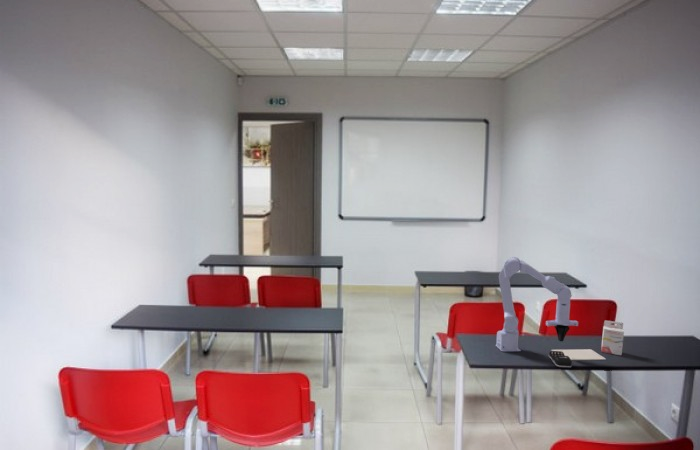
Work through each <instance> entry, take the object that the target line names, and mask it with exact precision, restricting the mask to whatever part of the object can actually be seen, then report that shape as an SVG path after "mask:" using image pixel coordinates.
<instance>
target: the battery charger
mask: <svg viewBox="0 0 700 450" xmlns="http://www.w3.org/2000/svg"><path fill="white" fill-rule="evenodd" d="M548 358H549V360H551V362H552V363H553V364H554V365H555V367H557V368H560V369H563V368H564V369H572V366H573V365H572V364H573V362H572V361H573V360H571V359H570V358H569V357H568V356H565V355H564V353H563V352H562V351H551V350H550V351H549V353H548Z"/></svg>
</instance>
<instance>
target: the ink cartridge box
mask: <svg viewBox="0 0 700 450" xmlns="http://www.w3.org/2000/svg"><path fill="white" fill-rule="evenodd" d="M623 328H624V323H623V322H620V321H612V320H606V319H605V320H604V322H603V326H602V336H601V337H602V338H601V347H600V350H601V353H604V354H605V353H606V354H610V355H611V354H613V355H616V356H617V355H618V356H622V353H623V344H624V337H625V336H624V334H625V332H624V331H625V330H624V329H623Z"/></svg>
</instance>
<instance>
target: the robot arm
mask: <svg viewBox="0 0 700 450" xmlns="http://www.w3.org/2000/svg"><path fill="white" fill-rule="evenodd" d="M517 273H519V274H527V275H530V276H531V277H532V278H534V279H536V280H538V281H539V282H541V286H542V287H543V288H545V289H546V290H548V291H549V292H551V293H553V294H554V295H556V296H557V300H556V309H555V319H552V320H546V321H545V326H547V327H551V326H553V327H554V329H555V331H556V335H557V339H558V341H559V342H564V341H565V340H564V339H565V337H566V335H567V333H568V332H569V331H570V328H571V327H572V326H573V327H575V326H576V327H578V326H579V321H577V320H570V311H571V299H572V295H573V294H572V291H571V288H570V287H569V286H567V284H564V283H563V282H562V283H561V282H560V281H558V280H557V279H556V277H555V276H551V275H547V276H546V275H544V274H542V273H541V272H540V271H539V270H537V269H536V268H534V267H533V266H531V265H530V264H529V263H527V262H526V261H524V260H523V259H520V258H518V257H516V256H512V257H510V258H509V259H507V261H506V262H504V264H503V266H502V269H501V271H500V273H499V274H498V283H499V288H500V289H499V290H500V294H501V300H502V307H503V313H504V314H503V315H504V316H503V317H504V322H503V328H502V330H498V331H497V332H496V342H495V343H496V344H495V347H497V349H499V350H500V352H521V349H520V348H519V343H518V342H519V329H518V327H519V325H518V324H519V319H518V317H517V316H516V312H515V307H514V301H513V300H514V299H513V294H512V290H511V289H512V288H511V281H510V279H511V278H512V276H513V275H515V274H517ZM570 326H571V327H570Z"/></svg>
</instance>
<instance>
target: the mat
mask: <svg viewBox="0 0 700 450" xmlns="http://www.w3.org/2000/svg"><path fill="white" fill-rule="evenodd" d="M550 351H562V352H563V353H564V355H565V356H568V357H569V358H570V359H571V361H606V360H607V358H605V357H604V356H602V355H601V354H599V353H597V352H596V351H595V350H593V349H591V348H590V349H589V348H588V349H587V348H586V349H584V348H583V349H551V350H550Z"/></svg>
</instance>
